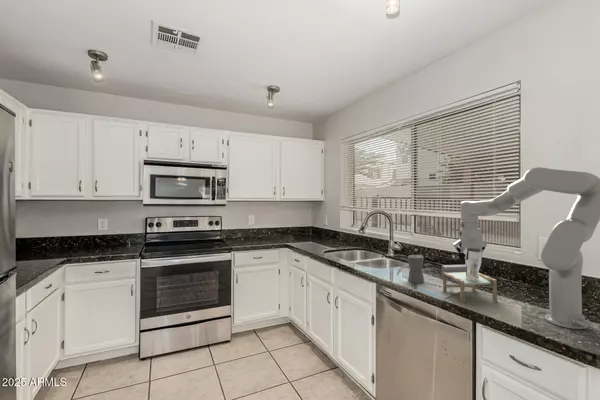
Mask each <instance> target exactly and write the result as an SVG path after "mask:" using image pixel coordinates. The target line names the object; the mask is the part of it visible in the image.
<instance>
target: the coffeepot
mask: <svg viewBox="0 0 600 400" xmlns="http://www.w3.org/2000/svg"><path fill="white" fill-rule="evenodd" d="M413 253H414V254H410V255H408V256H407V264H408V267H409V270H408V271H409V272H408V279H407V281H408V282H409V283H413V284H423V283H424V282H425V278H424V273H423V268H424V266H425V261H426V255H425V254H424V253H422V254H418V251H413Z"/></svg>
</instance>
